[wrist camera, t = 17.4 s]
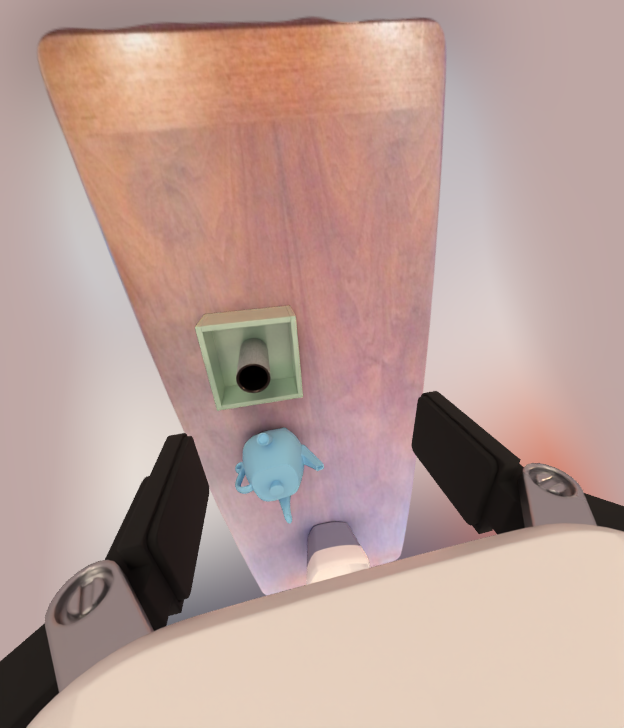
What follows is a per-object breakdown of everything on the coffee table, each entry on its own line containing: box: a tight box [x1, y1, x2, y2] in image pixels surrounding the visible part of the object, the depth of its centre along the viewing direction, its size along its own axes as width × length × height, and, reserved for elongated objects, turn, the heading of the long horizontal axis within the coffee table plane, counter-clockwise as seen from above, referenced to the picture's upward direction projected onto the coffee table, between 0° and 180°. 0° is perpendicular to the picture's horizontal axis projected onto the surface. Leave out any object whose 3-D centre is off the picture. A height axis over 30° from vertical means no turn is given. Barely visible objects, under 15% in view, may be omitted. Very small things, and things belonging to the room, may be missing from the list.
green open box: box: [195, 305, 303, 411], centre depth 41 cm, size 14×14×7 cm
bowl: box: [306, 522, 370, 585], centre depth 66 cm, size 15×15×11 cm
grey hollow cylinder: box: [236, 338, 271, 393], centre depth 39 cm, size 4×4×10 cm
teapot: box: [235, 428, 324, 523], centre depth 49 cm, size 15×14×11 cm
